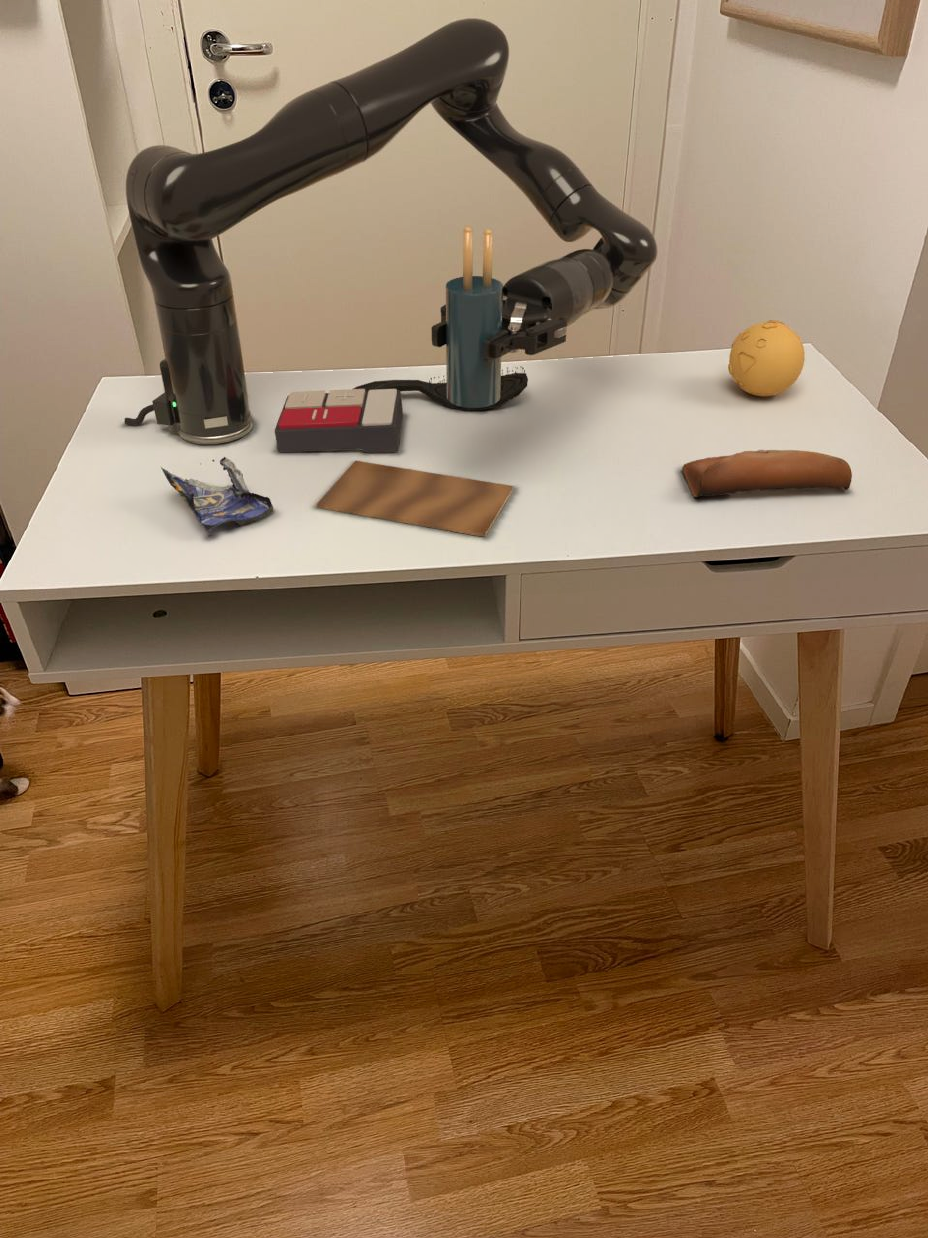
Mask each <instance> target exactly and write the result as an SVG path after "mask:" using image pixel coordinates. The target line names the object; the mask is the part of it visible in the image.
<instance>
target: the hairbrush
mask: <svg viewBox="0 0 928 1238" xmlns="http://www.w3.org/2000/svg"><path fill="white" fill-rule="evenodd" d="M519 367H520V369H521V372H517V370H518V369H519V368H518V367H517V366H515V367H514V368H515V369H516V370H515V371H514V369H511V372H512V373H510V370H509V366H508V367H506V374H504V369H502V368H501V384H500V399H499V401H498V402H496V403H495V404H493V405H490V406H487V407H481V408H467V407H461V406H457V405H455V404H452V403H451V402H450V401H449V400H448V399H447V382H445V381H446V379H445V378H444V377H445V375H443V376H442V377H443V379H442V380H439V382H433V381H432V379H435V378H436V377H435V376H434V377H433V378H432V377H431V378H430V380H428V381H424V380H421V379H387V380H374V381H371V382H368V383H364V384H361V385H357V386H355V387H353V388H352V389H365V391H369V390H379V389H397V390H400V391H401V392H420V393H421V394H422V395H425V396H426V397H428V398H429V399H431V400H433V401H434V402H435V401H436V402H437V403H439V404H441V405H442V406H444V407H447V408H451V409H455V410H460V411H464V412H465V411H468V412H469V411H474V412H475V411H484V410H485V411H486V410H488V409H493V408H497V407H500V406H502V405H505V404H506V403H508V402H509V401H511V400H513V399H515V398H517V397H519V396H520V395H521V394H522V393H523V392H524V390H525V389H526V388H527V387H528V382H529V378H528V375H527V373H526V370H525V368H524V367H523V366H522V365H520V366H519ZM437 378H438V379H440V376H438V377H437Z"/></svg>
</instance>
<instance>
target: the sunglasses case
mask: <svg viewBox="0 0 928 1238" xmlns="http://www.w3.org/2000/svg"><path fill="white" fill-rule="evenodd" d="M681 471H682V473H683V477H684V479H685V482H686V484H687V486H688V489H689V491H690V493H691V495H692V497H693V498H695V499H696V498H699V497H700V496H701V497H712V496H723V495H730V494H731V495H732V494H737V493H748V492H755V491H783V490H793V489H794V490H811V489H835V488H839V489H844V490H845V491H848V490H849V489H850V488H851V484H852V479H853V472H852V469H851V466H850V464H849V463H848V461H846V460H845V459H843V458H841V457H837V456H834V455H830V454H826V453H821V452H818V451H817V452H816V451H809V450H799V449H798V450H797V449H782V450H780V449H758V450H745V451H741V452H735V453H734V454H731V455H720V456H711V457H705V458H700V459H696V460H691V461H689V462H686V463H684V464H683V465H682V468H681Z"/></svg>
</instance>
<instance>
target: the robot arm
mask: <svg viewBox="0 0 928 1238" xmlns="http://www.w3.org/2000/svg"><path fill="white" fill-rule="evenodd" d="M509 60H510V44H509V41H508V39H507V36H506V34H505V33H504V31H503V29H501V28H500V27H499V26H498V25H496V24H494V23H493V22H492V21H489V20H486V19H482V18H476V17H475V18H473V17H472V18H471V17H470V18H462V19H458V20H454V21H452V22H450V23H447V24H445V25H443V26H441V27H440V28H438V29H436V30H435V31H433V32H431V33H430V34H428V35H426V36H424V37H423V38H421V39H420V40H418V41H416V42H415V43H412V44H411V45H410V46H407V47H406V48H403V50H400V51H399V52H397V53H394V54H393V55H391V56H389V57H386V58H384V59H381V60H379V61H377V62H375V63H373V64H370V65H368V66H366V67H364V68H362V69H359V70H357V71H355V72H353V73H351V74H349V75H348V74H347V75H346V76H344V77H341V78H338V79H335V80H333V81H332V80H331V81H329V82H327V83H324V84H323V85H320V86H318V87H315V88H312V89H310V90H308V91H306V92H303V93H302V94H300V95H298V96H296V97H295V98H293V99H291V100H290V101H288V102H287V103H286V104H285V105H283V106H282V107H281V108H280V109H279V110H278V111H277V112H276V113H275V114H274V115H273V116H272V117H271V119H270V120H269V121H267V123H265V124H264V125H263V126H262V127H261V128H260V129H259V130H257V131H256V132H255V133H253V134H251V135H250V136H248V137H245V138H244V139H241V140H239V141H236V142H233V143H230V144H228V145H225V146H222V147H219V148H216V149H213V150H209V151H205V152H200V153H191V152H189V151H186V150H183V149H180V148H178V147H174V146H171V145H165V144H157V145H152V146H148V147H146V148H144V149H143V150H141V151H140V152H138V153H137V154H136V155H135V157H134V158H133V159H132V160H131V162H130V164H129V166H128V169H127V172H126V177H125V178H126V179H125V197H126V204H127V205H126V206H127V210H128V215H129V221H130V223H131V229H132V232H133V233H132V234H133V238H134V241H135V245H136V251H137V254H138V259H139V261H140V266H141V269H142V271H143V274H144V276H145V278H146V279H147V281H148V284H149V286H150V289H151V293H152V298H153V300H154V306H155V311H156V317H157V323H158V328H159V333H160V338H161V342H162V343H161V344H162V349H163V353H164V358H163V359H162V360H161V361H160V362H159V370H160V375H161V380H162V385H163V390H164V392H163V393H161V394H160V395H159V396H157V397H156V398H154V399H153V400H151V401H152V404H149V405H147V406H145V407H143V408H142V409H141V410H140V411H139V413H138V414H137V417H135V418H130V417H124V424H125V425H130V426H138V425H140V424H142V423H143V421H144V420H145V418H146V416H147V415H148V414H149V413H151V412H154V415H155V420H156V421H155V422H156V424H157V425H161V426H167V427H171V430H172V434H173V435H179V436H180V437H181V439H183V440H185V441H186V442H189V443H193V444H198V445H218V444H226V443H229V442H233V441H236V440H238V439H241V438H243V437H245V436H246V435H248V434H249V433H250V432H251V431H252V429H253V427H254V425H253V418H252V414H251V410H250V403H249V395H248V387H247V381H246V373H245V367H244V361H243V360H244V359H243V352H242V345H241V338H240V330H239V324H238V318H237V311H236V304H235V297H234V291H233V285H232V284H233V283H232V278H231V274H230V271H229V269H228V268H227V266H226V265H225V263H224V261H223V259H221V257H220V255H219V254H218V252H217V249H216V247H215V244H214V242H213V239H215V238H217V237H219V236H220V235H222V234H223V233H225V232H227V231H228V230H230V229H232V228H234V227H236V225H238V224H240V223H241V222H243V221H244V220H246V219H248V218H249V217H251V216H253V215H254V214H255V213H257V212H259V211H260V210H262V209H264V208H265V207H267V206H269V205H271V204H272V203H274V202H277V201H278V200H281V199H283V198H285V197H287V196H291V195H292V194H295V193H297V192H300V191H302V190H305V189H306V188H308V187H311V186H313V185H315V184H318V183H320V182H322V181H324V180H326V179H329V178H331V177H334V176H337V175H339V174H341V173H343V172H345V171H348V170H350V169H352V168H354V167H356V166H359V165H361V164H364V162H367V161H369V160H370V159H371V158H373V157H374V156H376V155H377V154H379V153H380V152H381V151H382V150H383V149H385V148H386V147H387V146H388V145H389V144H390V143H391V142H392V141H393V140H394V139H395V138H396V137H397V136H398V135H399V134H400V132H401V131H403V130H404V129H405V128H406V127H407V125H408V124H409V123H410V122H411V121H412V120H413V119H414V118H415V117H416V116H417V115H419V113H421V111H423V110H424V109H425V108H426V107H427V106H429V105H431V106H432V108H433V109H434V111H435V112H436V113H437V114H438V116H439V117H440V118H441V119H442V120H443V121H444V122H445V123H446V124H447V125H448V126H449V127H450V128H451V129H453V131H454V132H456V133H457V134H458V135H459V136H460V137H462V139H463V140H465V141H466V142H467V143H469V144H470V146H471V147H473V148H474V149H475V150H476V151H477V152H479V154H480V155H482V156H483V157H484V158H485V159H486V160H487V161H489V162H490V163H491V164H492V165H493V166H494V167H496V168H497V170H499V171H500V172H501V174H503V175H505V176H506V177H507V178H508V180H510V182H512V183H513V184H514V186H515V187H517V189H519V190H520V192H521V193H522V194H523V195H524V196H525V197H526V199H527V200H528V201H529V202H530V203H531V205H532V206H533V207H534V208H535V210H536V211H537V212H538V213H539V215H541V217H542V219H543V220H544V221H545V222H546V224H547V225H548V226H549V227H550V228H551V230H552V231H553V232H554V233H555V235H557V237H558V238H560V240H561V241H563V242H566V243H574V242H577V241H579V240H581V239H583V238H584V237H585V236H587V235H588V234H589V233H590V232H592V231H593V230H596V231H597V232H598V233H599V235H600V236H601V237H600V238H599V240H598V241H597V242H596V244H595V245H594V246H593V247H592V248H581V249H577V250H574V251H571V252H569V253H567V254H564V255H563V256H560V257H558V258H557V259H552V260H547V261H545V262H543V263H540V264H537V265H536V266H533V267H532V268H529V269H528V270H525V271H523V272H521V273H519V274H517V275H514V276H513V277H511V278H510V279H508V280H507V281H506V282H505V284H503V312H502V331H500V332H498V333H496V334H494V335H492V336H490V337H488V338H487V339H485V340H484V342H483V360H485V361H489V362H491V361H493V360H494V359H496V358H500V357H501V358H502V357H504V356H505V355H507V354H508V353H510V354H516V353H519V351H520V350H522V351H523V350H524V354H525V355H527V356H534V355H537V354H539V353H542V352H544V351H547V350H549V349H552V348H554V347H556V346H560V345H562V344H563V343H566V342H567V330H568V327H570V326H571V325H573V324H574V323H576V322H577V321H578V320H579V319H581V317H582V316H584V315H586V314H587V313H589V312H592V311H594V310H600V309H601V310H602V309H610V308H612V307H613V308H614V307H615V306H616V305H618V304H619V303H620V302H622V301H623V300H624V299H625V298H626V297H627V296H628V295H629V294H630V292H631V291H632V290H633V289H634V288H635V287H636V285H638V283H639V282H640V281H641V279H642V278H643V277H644V276H645V274H646V273H647V272H648V271H649V270H650V269H651V268H652V266H653V265H654V263H655V262H656V260H657V258H658V244H657V241H656V238H655V236H654V234H653V232H652V231H651V230H650V228H649V227H648V226H646V225H645V224H644V223H642V222H641V221H640V220H639V219H637V218H635V217H633V216H632V215H630V214H629V213H627V212H625V211H624V210H623V209H621V208H619V207H618V206H617V205H616V204H615V203H612V202H611V201H610V200H609V199H608V198H606V197H605V196H604V195H602V194H601V193H600V192H599V191H598V190H597V189H596V187H595V186H594V185H593V184H592V183H591V181H590V180H589V179H588V178H587V177H586V175H585V173H584V172H583V171H582V170H581V169H580V168H579V166H578V164H576V163H575V162H574V161H573V160H572V158H570V157H569V156H568V155H567V154H566V153H564V152H563V151H562V150H560V149H558V148H556V147H554V146H553V145H551V144H547V143H545V142H542V141H539V140H536V139H533V138H530V137H528V136H527V135H524V134H522V133H521V132H519V131H518V130H516V129H515V127H513V125H512V124H510V123H511V122H509V120H508V119H507V118H506V116H505V115H504V114H503V112H502V110H501V109H500V107H499V105H498V103H497V101H498V98H499V96H500V92H501V89H502V86H503V83H504V80H505V76H506V73H507V70H508V66H509ZM439 309H440V322H438V323H436V324H434V325H432V326H431V344H432V346H433V347H436V348H442V347H444V346H446V303H445V304H443V305H442V306H441V307H440V308H439Z"/></svg>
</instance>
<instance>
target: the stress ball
mask: <svg viewBox="0 0 928 1238" xmlns="http://www.w3.org/2000/svg"><path fill="white" fill-rule="evenodd" d="M730 348H731V349H730V352H729V360H728V364H727V369H728V373H729V375H730V376H731V377H732V379H733V381H734V382H735V384H736V385H737V386H738V387H739V388H740V389H742V391H744V392H746V393H748V394H749V395H751V396H752V395H753V396H757V397H773V396H776V395H779V394H780V393H783V392H785V391H786V390H788V389H789V388H791V387H792V386H793V385H794V383H796V382H797V380H798V379H799V377H800V375H801V374H802V371H803V368H804V365H805V360H806V359H805V358H806V357H805V355H806V354H805V353H806V352H805V347H804V344H803V341H802V339H801V338H800V336H799V335H798V333H797V332H796V331H794V329H792V328H791V327H790V326H787V325H786V324H785V323H784V322H783V321H780V320H774V319H773V320H771V319H770V320H767V321H764V322H758V323H756V324H753V325H751V326H749V327H748V328H746V329H745V330H744V331H743V332H740V333H738V335H737V336H736V337H735V339H734V340H733V342H732V344H731V346H730Z"/></svg>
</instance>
